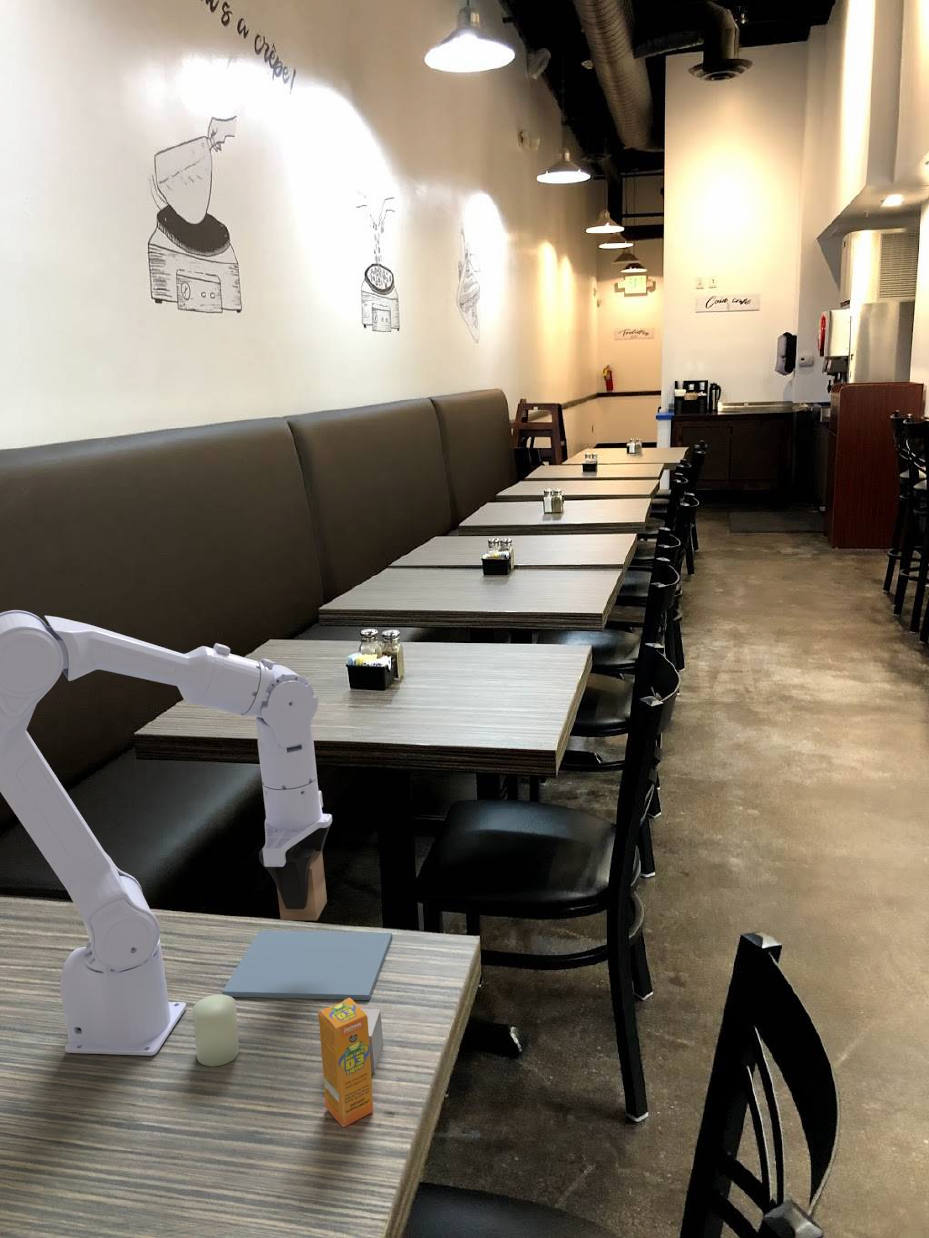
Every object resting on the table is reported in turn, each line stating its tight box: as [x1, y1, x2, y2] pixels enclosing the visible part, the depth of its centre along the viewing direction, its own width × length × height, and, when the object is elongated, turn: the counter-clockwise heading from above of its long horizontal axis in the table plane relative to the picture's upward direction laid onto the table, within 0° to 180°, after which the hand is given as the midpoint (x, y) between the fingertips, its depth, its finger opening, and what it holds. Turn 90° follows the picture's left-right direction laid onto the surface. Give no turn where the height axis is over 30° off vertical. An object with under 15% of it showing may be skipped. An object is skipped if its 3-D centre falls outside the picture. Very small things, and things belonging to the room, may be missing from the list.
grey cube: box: [361, 1008, 384, 1074], centre depth 92 cm, size 4×4×4 cm
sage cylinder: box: [192, 993, 240, 1067], centre depth 94 cm, size 4×4×5 cm
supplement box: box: [317, 998, 374, 1128], centre depth 84 cm, size 3×3×10 cm
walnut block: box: [276, 851, 328, 921], centre depth 105 cm, size 4×4×6 cm
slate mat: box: [221, 930, 393, 1001], centre depth 108 cm, size 16×12×1 cm
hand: (302, 896), depth 105 cm, fingers closed on walnut block, 4 cm apart
